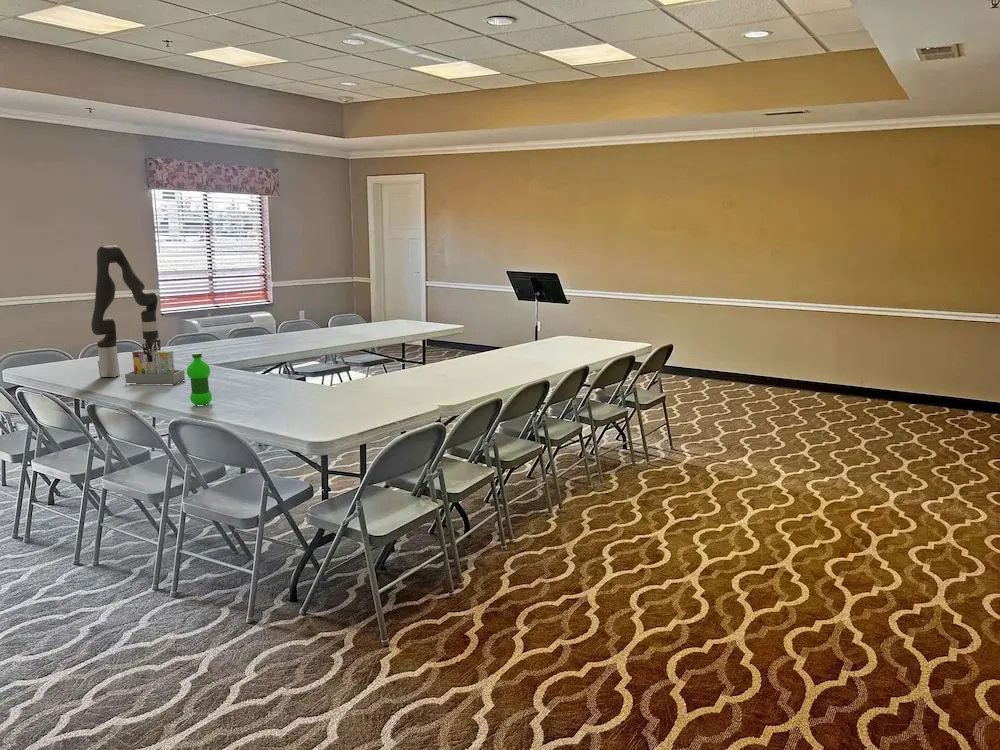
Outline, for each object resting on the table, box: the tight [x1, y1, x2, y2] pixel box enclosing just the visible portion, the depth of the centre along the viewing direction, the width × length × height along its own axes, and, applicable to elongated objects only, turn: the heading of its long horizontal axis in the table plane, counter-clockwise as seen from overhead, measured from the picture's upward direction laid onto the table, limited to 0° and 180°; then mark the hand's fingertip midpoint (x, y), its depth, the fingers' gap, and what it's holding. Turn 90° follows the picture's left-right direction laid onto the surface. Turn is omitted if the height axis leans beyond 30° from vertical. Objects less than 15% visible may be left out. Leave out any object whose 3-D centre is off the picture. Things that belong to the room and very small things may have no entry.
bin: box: [124, 369, 186, 385], centre depth 398 cm, size 27×12×6 cm, turn 86°
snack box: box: [131, 349, 176, 374], centre depth 396 cm, size 21×6×15 cm, turn 79°
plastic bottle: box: [186, 352, 213, 406], centre depth 349 cm, size 10×10×25 cm
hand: (153, 360), depth 396 cm, fingers closed on snack box, 6 cm apart
